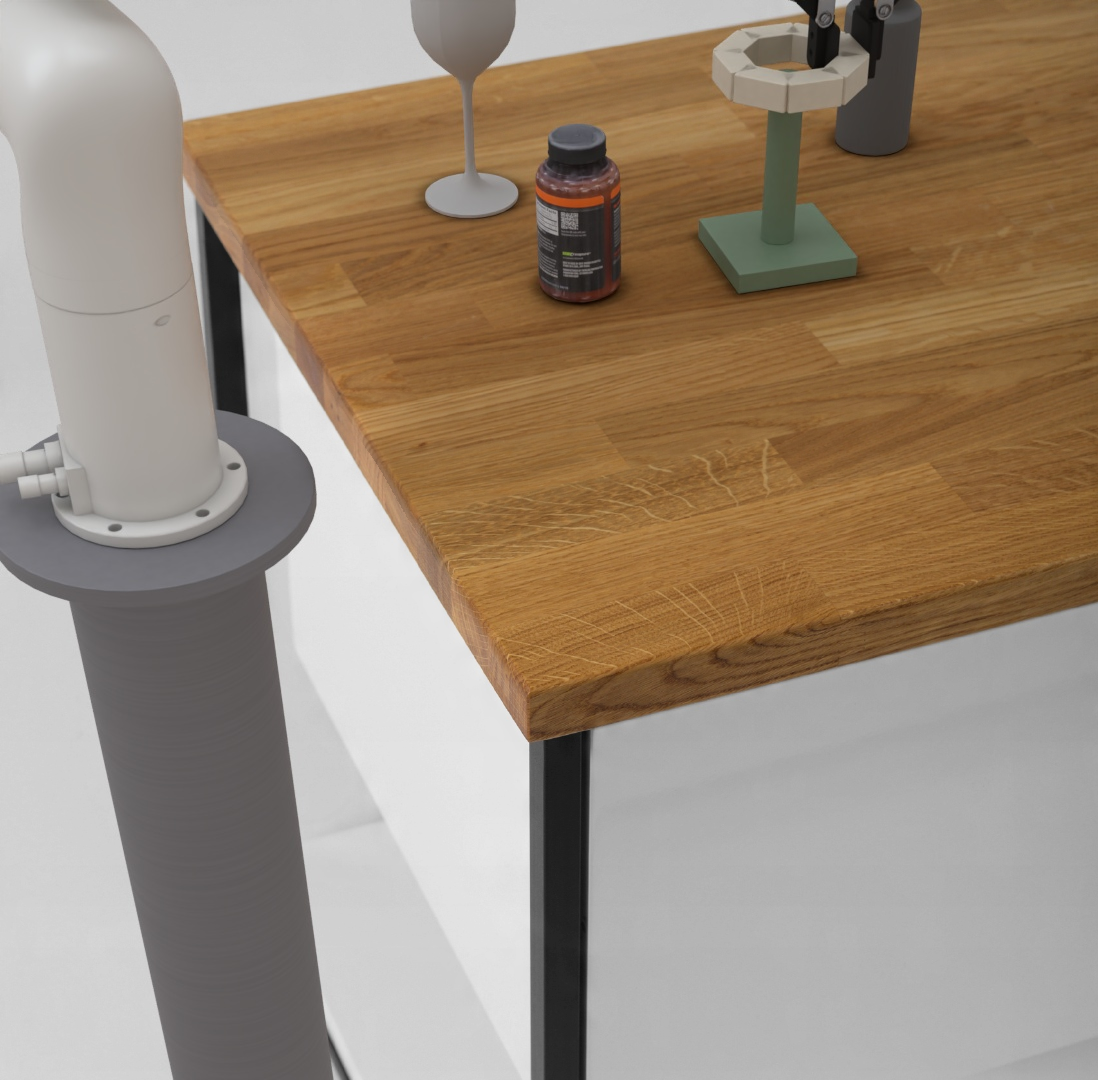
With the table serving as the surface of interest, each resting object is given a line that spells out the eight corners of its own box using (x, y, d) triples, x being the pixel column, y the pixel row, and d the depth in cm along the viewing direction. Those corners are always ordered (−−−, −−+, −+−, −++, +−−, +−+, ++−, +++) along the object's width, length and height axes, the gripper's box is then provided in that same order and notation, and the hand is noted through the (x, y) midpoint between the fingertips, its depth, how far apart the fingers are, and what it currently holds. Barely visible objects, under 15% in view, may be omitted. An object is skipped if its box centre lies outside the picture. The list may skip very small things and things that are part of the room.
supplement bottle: (605, 260, 150) (605, 110, 142) (632, 298, 146) (634, 146, 138) (527, 273, 149) (523, 123, 141) (552, 312, 144) (550, 159, 137)
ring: (744, 120, 137) (746, 90, 135) (697, 61, 144) (698, 33, 142) (884, 100, 138) (887, 71, 137) (830, 44, 145) (832, 16, 144)
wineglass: (536, 184, 159) (530, -97, 145) (494, 226, 154) (484, -60, 140) (449, 167, 161) (435, -110, 147) (405, 208, 156) (386, -75, 142)
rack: (738, 293, 146) (748, 110, 137) (697, 237, 152) (704, 58, 143) (856, 275, 148) (873, 93, 138) (811, 220, 154) (825, 42, 145)
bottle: (910, 127, 165) (931, -64, 155) (904, 159, 161) (926, -35, 151) (838, 122, 166) (854, -68, 156) (830, 153, 162) (846, -40, 152)
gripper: (766, -181, 125) (751, 111, 138) (1007, -208, 128) (971, 80, 141) (726, -217, 130) (715, 67, 143) (958, -242, 133) (927, 39, 146)
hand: (842, 71), depth 142 cm, fingers closed on ring, 2 cm apart
